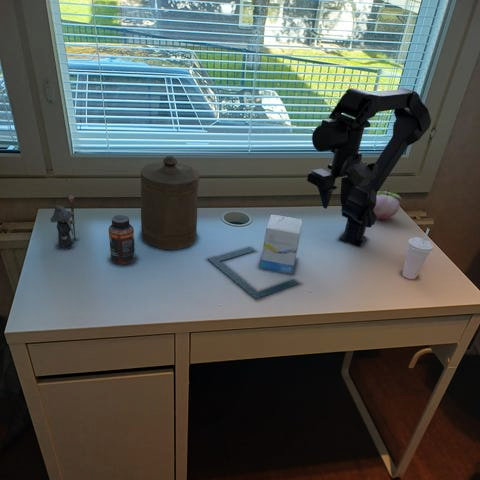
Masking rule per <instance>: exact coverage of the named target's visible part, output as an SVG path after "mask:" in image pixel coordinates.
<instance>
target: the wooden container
mask: <svg viewBox="0 0 480 480" xmlns="http://www.w3.org/2000/svg"><path fill="white" fill-rule="evenodd" d="M199 174H200V173H199V172H198V170H197V169H195V168H194V167H192V166H190V165H187V164H185V163H181V162H180V163H179V162H178V160H177V158H176V157H174V156H173V155H167V156H165V157H163V160H162V161H160V162H152V163H149V164H146V165H145V166H143V167H142V168H141V170H140V224H141V225H140V226H141V229H140V230H141V238H142V240H143V242H145V243H146V244H147V245H149V246H152V247H154V248H156V249H157V248H158V249H163V250H180V249H184V248H188V247H190V246H191V245H193V244H194V243H195V242H196V239H197V225H198V191H199V190H198V188H199V178H200V177H199Z"/></svg>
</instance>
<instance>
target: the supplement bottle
mask: <svg viewBox="0 0 480 480" xmlns="http://www.w3.org/2000/svg"><path fill="white" fill-rule="evenodd" d="M108 238H109V250H110V251H109V252H110V260H111V261H112V263H114V264H116V265H121V266H124V265H125V266H126V265H129V264H132V263H133V262H135V260H136V247H135V244H136V243H135V228H134V227H133V225H132V224H131V223H130V218H129V216H127V215H125V214H116V215H114V216H112V217H111V224H110V225H109V227H108Z"/></svg>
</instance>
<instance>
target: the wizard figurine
mask: <svg viewBox="0 0 480 480" xmlns="http://www.w3.org/2000/svg"><path fill="white" fill-rule="evenodd" d="M68 200H69V201H70V203H69V205H70V210H67V209H66V208H65V207H64V206H61V205H54V206H52V208H53V209H54V211H53V215H52V216H51V218H50V220H49V221H50V222H51V223H56V230H57V240H58V241H57V242H58V247H59V248H63V249H67V250H68V249H71V248H72V245H73V240H72V237H71V235H72V236H73V237H74V238H73V239H74V240H76V227H75V224H76V220H75V211H74V200H75V197H74V196H73V195H72V194H70V195H69V196H68ZM70 232H71V234H70Z"/></svg>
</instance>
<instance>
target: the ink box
mask: <svg viewBox="0 0 480 480" xmlns="http://www.w3.org/2000/svg"><path fill="white" fill-rule="evenodd" d="M303 221H304V220H303V219H300V218H295V217H289V216H284V215H277V214H270V217H269V220H268V223H267V226H266V227H265V228H266V229H265V235H264V241H263V247H262V254H261V259H260V269H263V270H268V271H273V272H279V273H285V274H289V275H293V271H294V266H295V263H296V259H297V253H298V249H299V245H300V244H299V243H300V239H301V233H302V227H303V223H304V222H303Z"/></svg>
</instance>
